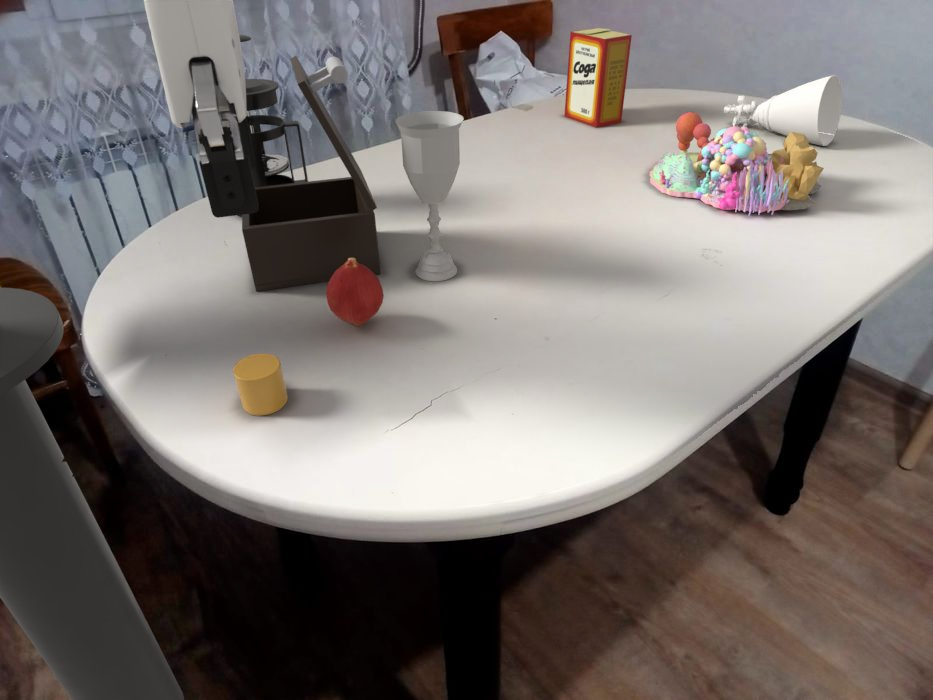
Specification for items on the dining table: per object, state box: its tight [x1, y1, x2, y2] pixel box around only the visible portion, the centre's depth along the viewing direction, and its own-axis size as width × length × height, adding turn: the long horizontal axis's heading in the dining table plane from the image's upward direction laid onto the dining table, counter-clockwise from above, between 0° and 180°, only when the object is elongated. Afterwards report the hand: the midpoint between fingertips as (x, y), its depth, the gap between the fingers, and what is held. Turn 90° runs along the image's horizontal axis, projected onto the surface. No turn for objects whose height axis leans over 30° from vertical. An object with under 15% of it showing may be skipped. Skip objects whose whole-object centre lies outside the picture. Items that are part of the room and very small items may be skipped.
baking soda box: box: [563, 27, 632, 129], centre depth 127 cm, size 10×6×16 cm
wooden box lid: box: [290, 55, 378, 211], centre depth 75 cm, size 15×13×5 cm
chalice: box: [394, 110, 465, 282], centre depth 75 cm, size 7×7×18 cm
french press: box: [237, 34, 309, 218], centre depth 90 cm, size 12×9×23 cm
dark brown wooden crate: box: [241, 176, 381, 292], centre depth 80 cm, size 15×13×8 cm
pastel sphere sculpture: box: [649, 111, 824, 217], centre depth 98 cm, size 25×24×9 cm
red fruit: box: [325, 258, 385, 327], centre depth 68 cm, size 6×6×8 cm
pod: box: [232, 352, 289, 416], centre depth 59 cm, size 4×4×4 cm
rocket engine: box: [723, 74, 843, 147], centre depth 120 cm, size 12×12×18 cm
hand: (236, 189), depth 51 cm, fingers open, 9 cm apart
